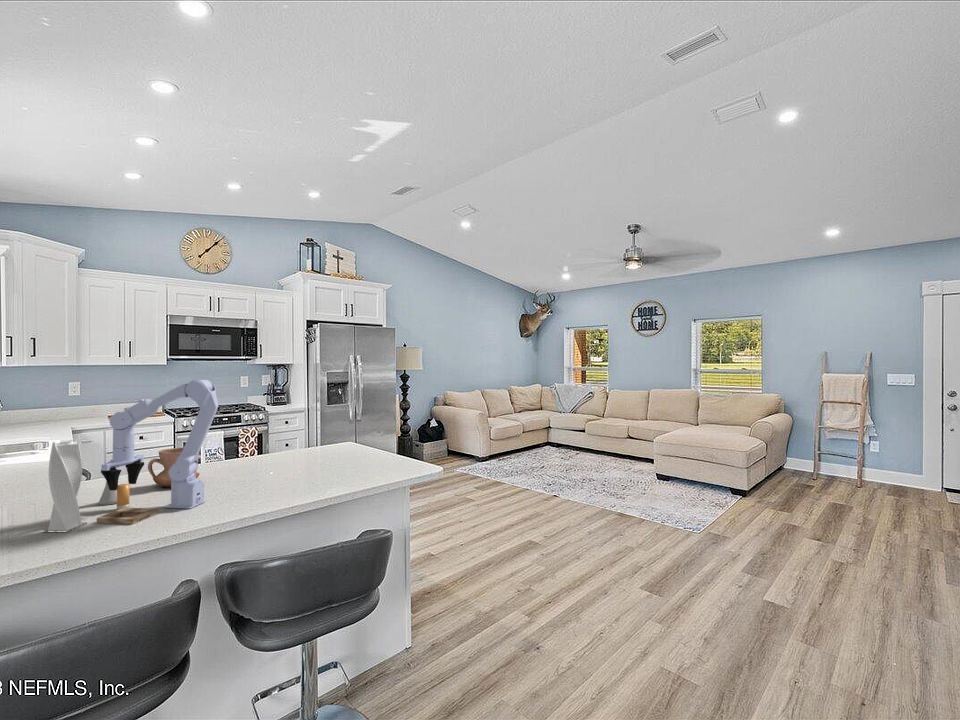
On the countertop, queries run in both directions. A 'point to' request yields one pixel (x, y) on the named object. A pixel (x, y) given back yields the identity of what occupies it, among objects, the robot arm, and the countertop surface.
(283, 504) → the countertop surface
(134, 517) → the wooden tray
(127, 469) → the robot arm
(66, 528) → the skyscraper
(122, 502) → the orange upright cylinder
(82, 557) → the countertop surface
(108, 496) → the flask
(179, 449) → the ceramic jug
